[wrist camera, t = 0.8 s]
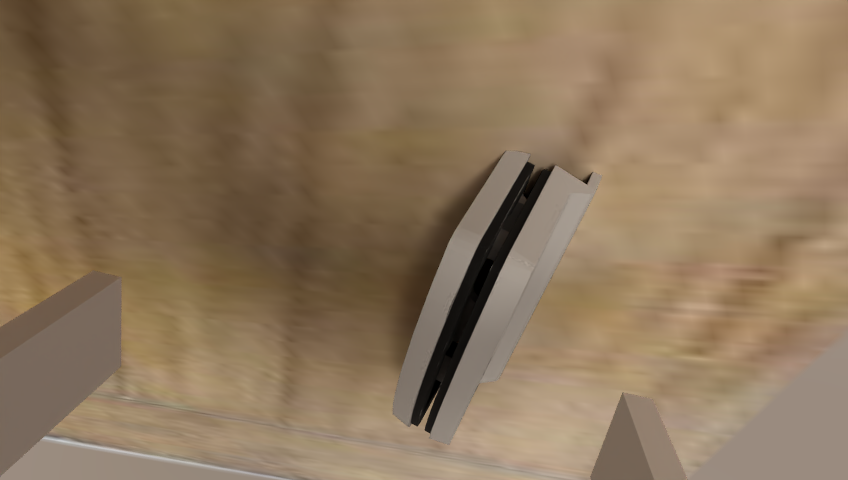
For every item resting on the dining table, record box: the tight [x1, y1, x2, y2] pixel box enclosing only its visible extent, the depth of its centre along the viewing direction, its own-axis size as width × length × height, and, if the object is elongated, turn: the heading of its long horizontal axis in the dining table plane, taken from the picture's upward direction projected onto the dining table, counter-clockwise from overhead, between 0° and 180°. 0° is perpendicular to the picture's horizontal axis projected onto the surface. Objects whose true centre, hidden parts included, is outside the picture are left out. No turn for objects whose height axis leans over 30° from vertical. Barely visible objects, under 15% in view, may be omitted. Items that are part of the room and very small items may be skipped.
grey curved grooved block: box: [393, 151, 602, 445], centre depth 31 cm, size 17×5×10 cm, turn 168°
